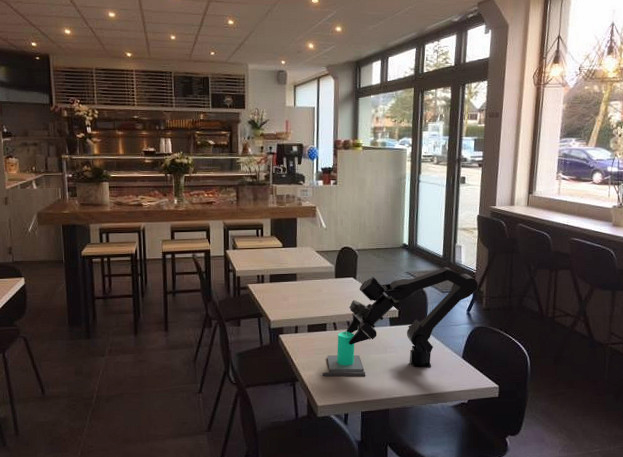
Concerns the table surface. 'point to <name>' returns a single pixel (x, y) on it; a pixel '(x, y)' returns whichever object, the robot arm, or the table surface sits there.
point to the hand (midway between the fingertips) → (347, 338)
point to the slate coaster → (336, 367)
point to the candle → (345, 349)
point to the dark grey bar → (344, 374)
